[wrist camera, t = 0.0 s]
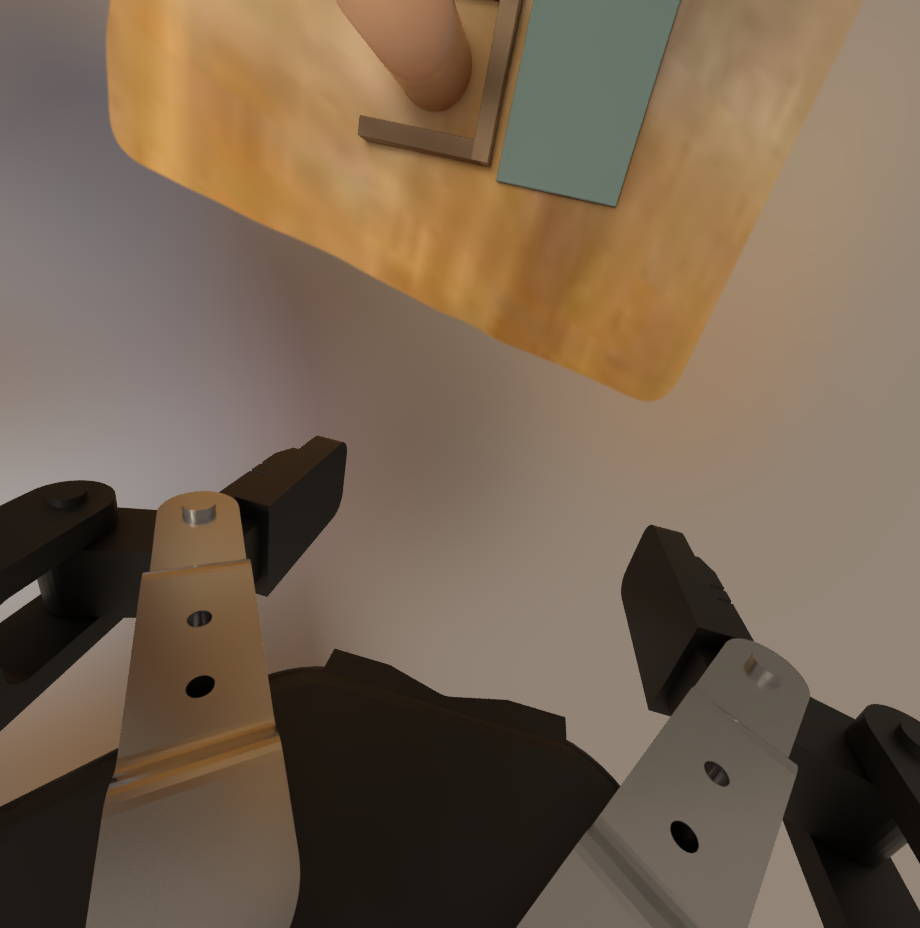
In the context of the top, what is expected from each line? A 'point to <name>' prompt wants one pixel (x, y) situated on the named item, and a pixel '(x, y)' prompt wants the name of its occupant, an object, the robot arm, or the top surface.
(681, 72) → the top surface
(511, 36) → the holder
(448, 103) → the tall tan cylinder
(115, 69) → the top surface
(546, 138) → the mat
